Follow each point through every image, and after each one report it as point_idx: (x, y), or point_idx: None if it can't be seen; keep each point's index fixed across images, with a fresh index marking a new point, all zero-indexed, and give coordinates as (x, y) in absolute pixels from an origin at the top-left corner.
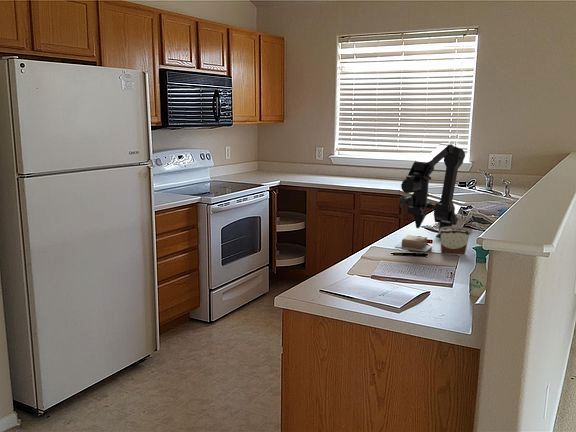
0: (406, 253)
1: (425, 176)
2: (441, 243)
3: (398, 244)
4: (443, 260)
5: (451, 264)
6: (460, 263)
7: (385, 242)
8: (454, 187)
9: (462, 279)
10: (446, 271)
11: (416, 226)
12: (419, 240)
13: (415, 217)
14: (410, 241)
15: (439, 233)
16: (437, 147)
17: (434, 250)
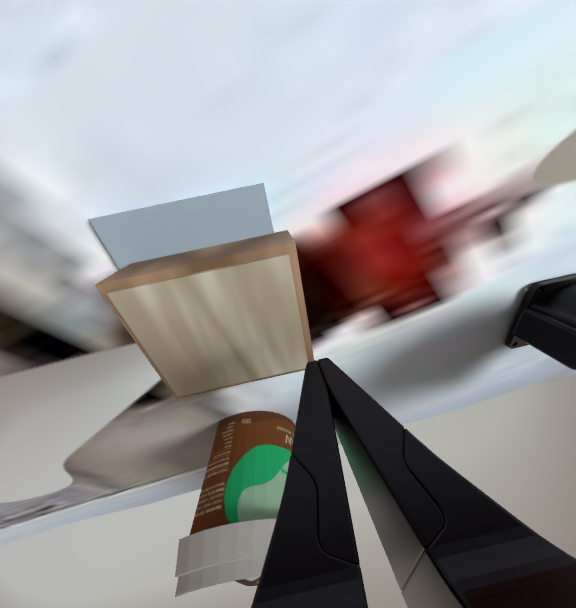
0: (60, 342)
1: None
2: (207, 474)
3: (166, 211)
4: (145, 455)
5: (129, 479)
6: (168, 483)
7: (144, 29)
8: None
9: (32, 531)
10: (42, 500)
11: (305, 378)
12: (194, 381)
13: (281, 560)
14: (139, 342)
15: (179, 549)
16: None
17: (251, 388)
